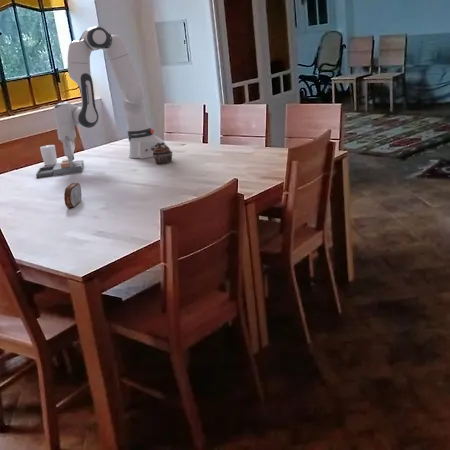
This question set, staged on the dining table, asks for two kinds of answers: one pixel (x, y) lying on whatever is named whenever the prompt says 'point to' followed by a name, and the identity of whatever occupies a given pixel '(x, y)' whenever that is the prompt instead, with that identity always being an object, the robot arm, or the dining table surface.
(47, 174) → the box
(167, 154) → the cupcake
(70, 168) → the far plate
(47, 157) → the white cup
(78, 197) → the tin
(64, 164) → the tile terracotta
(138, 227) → the dining table surface
